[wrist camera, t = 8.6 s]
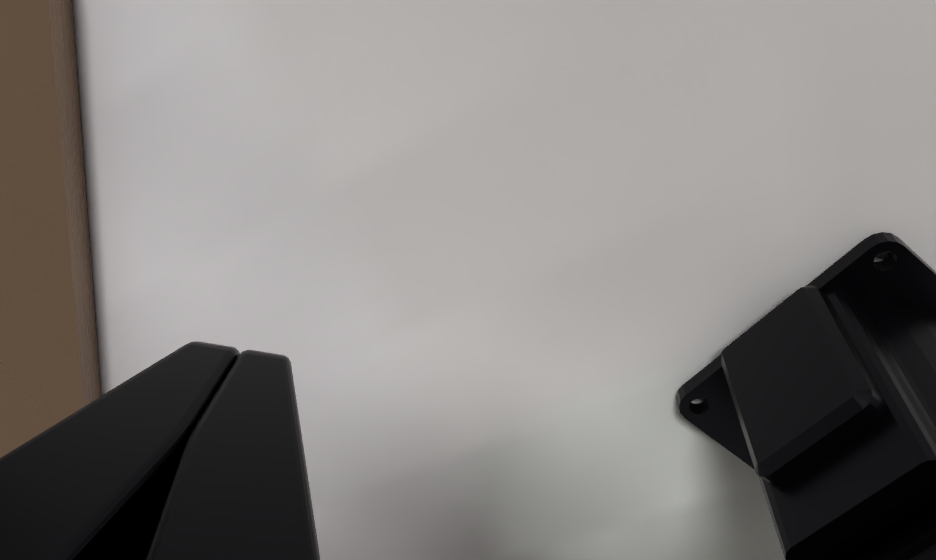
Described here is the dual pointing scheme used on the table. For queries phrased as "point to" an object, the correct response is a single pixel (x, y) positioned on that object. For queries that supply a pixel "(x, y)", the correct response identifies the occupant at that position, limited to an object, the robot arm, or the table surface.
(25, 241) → the housing
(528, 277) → the table surface
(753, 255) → the table surface
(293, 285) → the table surface
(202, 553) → the robot arm
